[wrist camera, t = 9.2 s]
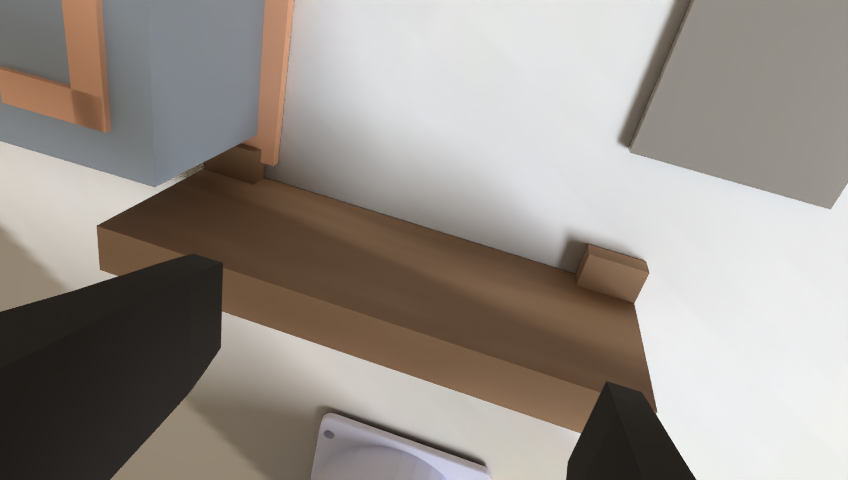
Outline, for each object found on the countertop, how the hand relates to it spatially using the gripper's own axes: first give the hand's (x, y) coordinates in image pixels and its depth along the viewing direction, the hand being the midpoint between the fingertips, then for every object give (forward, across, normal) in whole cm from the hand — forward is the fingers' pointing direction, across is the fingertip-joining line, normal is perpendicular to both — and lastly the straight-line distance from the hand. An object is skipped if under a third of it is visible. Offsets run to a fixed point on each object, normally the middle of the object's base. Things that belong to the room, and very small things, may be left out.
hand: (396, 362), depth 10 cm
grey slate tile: (+10, -7, -5) cm, 13 cm away
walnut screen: (+10, +2, +3) cm, 10 cm away
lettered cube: (+10, +11, -2) cm, 14 cm away
